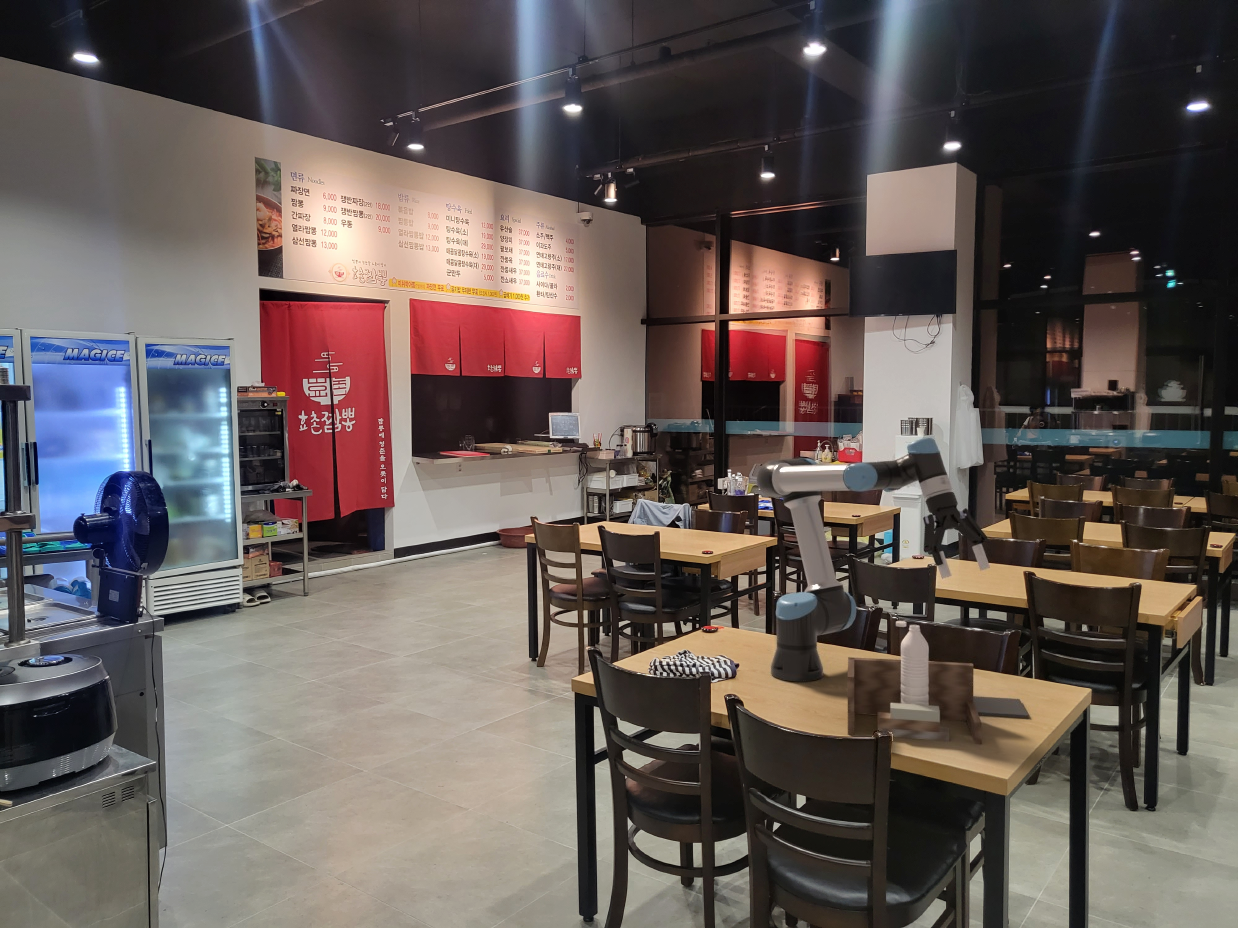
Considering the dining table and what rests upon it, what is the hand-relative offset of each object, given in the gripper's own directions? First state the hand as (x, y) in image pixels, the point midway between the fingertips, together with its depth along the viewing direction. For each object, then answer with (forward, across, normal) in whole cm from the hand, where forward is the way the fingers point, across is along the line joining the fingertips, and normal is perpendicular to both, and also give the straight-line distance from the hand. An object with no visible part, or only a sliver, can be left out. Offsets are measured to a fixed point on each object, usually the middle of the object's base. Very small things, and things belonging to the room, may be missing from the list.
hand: (966, 573), depth 230 cm
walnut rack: (+32, -24, +10) cm, 42 cm away
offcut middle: (+32, -29, +5) cm, 44 cm away
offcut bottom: (+35, -28, +6) cm, 45 cm away
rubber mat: (+34, +4, +10) cm, 36 cm away
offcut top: (+30, -28, +3) cm, 41 cm away
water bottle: (+32, -23, +11) cm, 41 cm away
